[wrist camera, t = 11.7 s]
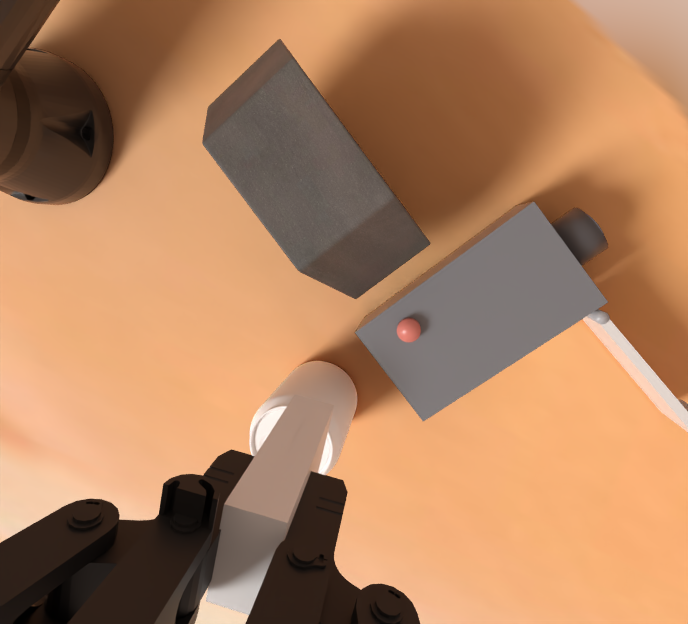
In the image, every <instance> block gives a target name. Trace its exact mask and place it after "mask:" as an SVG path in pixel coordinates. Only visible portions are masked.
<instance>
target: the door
mask: <svg viewBox="0 0 688 624" xmlns="http://www.w3.org/2000/svg"><path fill="white" fill-rule="evenodd" d="M583 321H584V322H585V323H586V324H587V325H588V326H589V328H590V329H591V330H592V331H593V332H594V334H595V335H596V336H597V337H598V338H599V339H600V341H601V342H602V343H603V344H604V345H605V346H606V348H607V349H608V350H609V351H610V352H611V354H612V355H613V356H614V357H615V358H616V359H617V361H618V362H619V363H620V364H621V365H622V367H623V368H624V369H625V370H626V371H627V372H628V374H629V375H630V376H631V377H632V378H633V380H634V381H635V382H636V383H637V384H638V385H639V387H640V388H641V389H642V390H643V391H644V392H645V394H646V395H647V396H648V397H649V398H650V400H651V401H652V402H653V403H654V404H655V405H656V407H657V408H658V409H659V410H660V411H661V412H662V413H663V414H664V415H666V416H667V417H668V418H670V419H671V420H672V421H674V422H675V423H676V424H678V425H679V426H680V427H682V428H683V429H684V430H686V431H687V432H688V404H687V403H686V402H684V401H683V400H679V401H678V399H677V398H676V397H675V396H674V395H673V394H672V392H671V391H670V390H669V389H668V388H667V386H666V385H665V384H664V383H663V382H662V381H661V379H660V378H659V377H658V376H657V375H656V373H655V372H654V371H653V370H652V369H651V367H650V366H649V365H648V364H647V363H646V362H645V360H644V359H643V358H642V357H641V356H640V354H639V353H638V352H637V351H636V350H635V349H634V347H633V346H632V345H631V344H630V343H629V341H628V340H627V339H626V338H625V337H624V336H623V334H622V333H621V332H620V331H619V330H618V328H617V327H616V326H615V325H614V324H613V323H612V321H611V320H610V317H609V315H608V314H607V313H605V312H603V311H601V310H599V309H597V310H595V311H594V312H592V313H591V314H589V315H588V316H586V317H585V318H583Z"/></svg>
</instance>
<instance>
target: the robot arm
mask: <svg viewBox="0 0 688 624" xmlns="http://www.w3.org/2000/svg"><path fill="white" fill-rule="evenodd" d="M59 1H60V0H0V191H2V192H4V193H7V194H9V195H11V196H13V197H15V198H18V199H20V200H23V201H27V202H31V203H37V204H50V205H62V204H68V203H71V202H74V201H77V200H79V199H81V198H83V197H84V196H86V195H87V194H88V193H90V192H91V191H92V190H93V189H94V188H95V187H96V186H97V185H98V183H99V182H100V181H101V179H102V178H103V176H104V174H105V172H106V170H107V168H108V165H109V162H110V158H111V154H112V148H113V127H112V120H111V116H110V112H109V109H108V106H107V103H106V101H105V99H104V97H103V95H102V93H101V91H100V90H99V88H98V87H97V85H96V84H95V82H94V81H93V80H92V79H91V78H90V77H89V76H88V75H87V74H86V73H85V72H84V71H83V70H82V69H80V68H79V67H78V66H76V65H75V64H73V63H71V62H69V61H67V60H65V59H63V58H61V57H59V56H57V55H54V54H52V53H50V52H47V51H43V50H40V49H34V48H28V47H29V45H30V44H31V43H32V41H33V40H34V38H35V37H36V35H37V34H38V32H39V31H40V29H41V28H42V26H43V25H44V23H45V22H46V20H47V19H48V17H49V16H50V14H51V13H52V11H53V10H54V8H55V7H56V5H57V4H58V2H59ZM333 409H334V405H332V404H328V403H325V402H321V401H317V400H314V399H310V398H306V397H303V396H299V395H296V394H295V395H294V396H293V398H292V399H291V401H290V402H289V404H288V406H287V407H286V409H285V410H284V412H283V413H282V415H281V416H280V418H279V420H278V421H277V423H276V424H275V426H274V427H273V429H272V430H271V432H270V434H269V435H268V437H267V438H266V440H265V441H264V443H263V444H262V446H261V447H260V449H259V451H258V452H257V454H256V455H255V456H252V455H249V454H245V453H242V452H238V451H235V450H230V451H228V452H226V453H224V454H222V455H220V456H218V457H217V458H216V460H215V461H214V462H213V463H212V465H211V466H210V468H208V470H207V471H206V472H205V474H204V476H202V475H195V474H186V475H179V476H176V477H173V478H171V479H169V480H168V481H166V482H165V483H164V484H163V490H162V497H161V503H160V510H159V515H158V516H157V517H156V518H155V519H153V520H143V521H136V520H119V512H118V508H116V507H115V506H114V505H113V504H112V503H110V502H107V501H105V500H102V499H85V500H79V501H75V502H73V503H71V504H68V505H66V506H64V507H62V508H60V509H59V510H57V511H55V512H53V513H52V514H50V515H48V516H46V517H45V518H43V519H41V520H39V521H38V522H36V523H34V524H32V525H31V526H29V527H27V528H25V529H24V530H22V531H20V532H18V533H17V534H15V535H13V536H11V537H10V538H8V539H6V540H4V541H3V542H1V543H0V624H194V623H195V621H196V618H197V614H198V610H199V605H200V600H201V599H202V597H203V595H204V593H205V591H206V589H207V588H208V592H207V597H206V601H207V602H210V603H213V604H216V605H219V606H222V607H226V608H229V609H232V610H235V611H238V612H241V613H244V614H247V615H249V617H248V619H247V622H246V624H420V621H419V618H418V614H417V612H416V610H415V607H414V605H413V603H412V602H411V601H410V600H409V599H408V598H407V596H406V595H405V594H404V593H402V592H401V591H399V590H397V589H396V588H394V587H392V586H388V585H384V584H371V585H369V586H367V587H365V588H363V589H362V590H360V589H359V588H357V587H356V586H354V585H352V584H351V583H350V582H348V581H347V580H346V579H345V578H344V577H343V576H342V575H341V574H340V573H339V571H338V569H337V567H336V565H335V561H334V551H335V546H336V542H337V537H338V533H339V528H340V524H341V519H342V515H343V510H344V506H345V501H346V497H347V490H346V487H345V484H344V482H343V480H340V479H337V478H333V477H330V476H326V475H323V474H319V473H318V471H319V467H320V463H321V459H322V455H323V450H324V446H325V442H326V438H327V434H328V429H329V425H330V421H331V417H332V413H333ZM208 586H209V587H208Z"/></svg>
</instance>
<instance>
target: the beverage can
mask: <svg viewBox="0 0 688 624" xmlns="http://www.w3.org/2000/svg"><path fill="white" fill-rule="evenodd" d="M295 394H296V395H299V396H303V397H306V398H310V399H314V400H317V401H321V402H325V403H328V404H332V405H334V409H333V413H332V417H331V421H330V425H329V429H328V434H327V438H326V442H325V446H324V450H323V455H322V459H321V463H320V467H319V471H318V473H319V474H323V475H326V474H327V473H328V472H329V471H330V470H331V469H332V468H333V467H334V466H335V464H336V463H337V461H338V459H339V456H340V454H341V451H342V448H343V445H344V442H345V439H346V437H347V434H348V431H349V428H350V425H351V422H352V419H353V417H354V414H355V411H356V407H357V392H356V388H355V386H354V383H353V381H352V380H351V378H350V377H349V376H348V374H347V373H346V372H345V371H343V370H342V369H341V368H339V367H338V366H336V365H334V364H332V363H329V362H324V361H311V362H307V363H304V364H302V365H300V366H298V367H297V368H295V369H294V370H293V371H292V372H291V373H290V374H289V375H288V377H287V378H286V379H285V380H284V381H283V382H282V383H281V384H280V385H279V387H278V388H277V389H276V390H275V391H274V392H273V393H272V394H271V396H270V397H269V398H268V399H267V400H266V401H265V402H264V403H263V405H262V406H261V407H260V408H259V409H258V411H257V412H256V414H255V415H254V418H253V420H252V423H251V427H250V450H251V454H252V456H255V455H256V454H257V452H258V451H259V449H260V447H261V446H262V444H263V443H264V441H265V440H266V438H267V437H268V435H269V434H270V432H271V430H272V429H273V427H274V426H275V424H276V423H277V421H278V420H279V418H280V416H281V415H282V413H283V412H284V410H285V409H286V407H287V406H288V404H289V402H290V401H291V399H292V398H293V396H294V395H295Z"/></svg>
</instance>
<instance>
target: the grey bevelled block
mask: <svg viewBox="0 0 688 624" xmlns="http://www.w3.org/2000/svg"><path fill="white" fill-rule="evenodd" d="M202 143H203V145H204V147H205V148H206V149H207V151H208V152H209V153H210V155H211V156H212V157H213V159H214V160H215V161H216V163H217V164H218V165H219V167H220V168H221V169H222V171H223V172H224V173H225V175H226V176H227V177H228V179H229V180H230V181H231V182H232V184H233V185H234V186H235V188H236V189H237V190H238V192H239V193H240V194H241V196H242V197H243V198H244V200H245V201H246V202H247V204H248V205H249V206H250V208H251V209H252V210H253V212H254V213H255V214H256V216H257V217H258V218H259V220H260V221H261V222H262V224H263V225H264V226H265V228H266V229H267V230H268V231H269V233H270V234H271V235H272V237H273V238H274V239H275V241H276V242H277V243H278V245H279V246H280V247H281V249H282V250H283V251H284V253H285V254H286V255H287V257H288V258H289V259H290V261H291V262H292V263H293V265H294V266H295V267H296V268H297V270H298V271H300V272H301V273H303V274H305V275H307V276H309V277H311V278H313V279H315V280H317V281H319V282H321V283H324V284H326V285H328V286H330V287H332V288H334V289H336V290H338V291H340V292H342V293H344V294H346V295H348V296H350V297H352V298H354V299H357V298H358V297H360V296H361V295H362V294H364V293H365V292H366V291H368V290H369V289H370V288H372V287H373V286H374V285H376V284H377V283H379V282H380V281H381V280H383V279H384V278H385V277H387V276H388V275H389V274H391V273H392V272H393V271H395V270H396V269H397V268H399V267H400V266H402V265H403V264H404V263H406V262H407V261H408V260H410V259H411V258H412V257H414V256H415V255H416V254H418V253H419V252H420V251H422V250H423V249H425V248H426V247H427V246H429V245H430V242H429V240H428V239H427V238H426V236H425V235H424V233H423V232H422V231H421V229H420V228H419V227H418V225H417V224H416V223H415V221H414V220H413V219H412V217H411V216H410V214H409V213H408V212H407V210H406V209H405V208H404V206H403V205H402V204H401V202H400V201H399V199H398V198H397V197H396V196H395V194H394V193H393V192H392V190H391V189H390V188H389V186H388V185H387V183H386V182H385V181H384V179H383V178H382V177H381V175H380V174H379V173H378V171H377V170H376V169H375V167H374V166H373V165H372V163H371V162H370V160H369V159H368V158H367V156H366V155H365V154H364V152H363V151H362V150H361V148H360V147H359V146H358V144H357V143H356V141H355V140H354V139H353V137H352V136H351V135H350V133H349V132H348V131H347V129H346V128H345V126H344V125H343V124H342V122H341V121H340V120H339V118H338V117H337V116H336V114H335V113H334V112H333V110H332V109H331V107H330V106H329V105H328V103H327V102H326V101H325V99H324V98H323V97H322V95H321V94H320V93H319V91H318V90H317V89H316V87H315V86H314V84H313V83H312V82H311V80H310V79H309V78H308V76H307V75H306V74H305V72H304V71H303V69H302V68H301V67H300V65H299V64H298V62H297V61H296V60H295V58H294V57H293V56H292V54H291V53H290V51H289V50H288V49H287V47H286V46H285V45H284V43H283V42H282V41H281V39H279V40H277V41H276V42H275V43H274V44H273V45H272V46H271V47H270V48H269V49H268V50H267V51H266V52H265V53H264V54H263V55H262V56H261V57H260V58H259V59H258V60H257V61H256V62H254V63H253V64H252V65H251V66H250V67H249V68H248V69H247V70H246V71H245V72H244V73H243V74H242V75H241V76H240V77H239V78H238V79H237V80H236V81H235V82H234V83H233V84H232V85H230V86H229V87H228V88H227V89H226V90H225V91H224V92H223V93H222V94H221V95H220V96H219V97H218V98H217V99H216V100H215V101H214V102H213V103H212V104H211V105H210V106H209V107H208V110H207V117H206V123H205V129H204V135H203V142H202Z"/></svg>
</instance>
